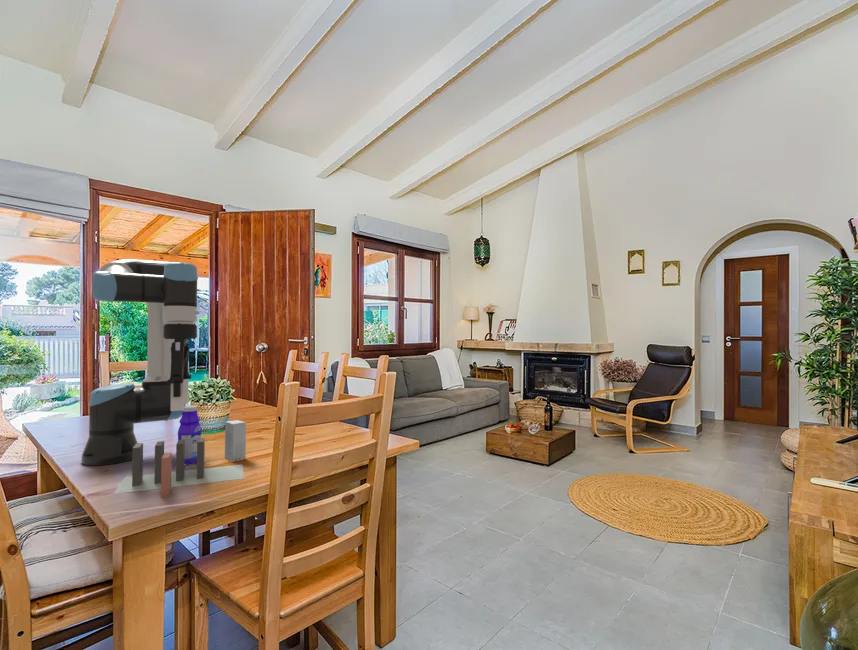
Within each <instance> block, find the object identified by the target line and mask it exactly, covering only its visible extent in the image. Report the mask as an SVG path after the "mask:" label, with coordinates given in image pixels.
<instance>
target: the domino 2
mask: <svg viewBox="0 0 858 650" xmlns="http://www.w3.org/2000/svg"><path fill="white" fill-rule="evenodd" d="M164 453H165V441H164V440H162V441H156V444H155V445H154V474H155V475H154V484H158V483H161V463H162V457H163V455H164Z"/></svg>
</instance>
